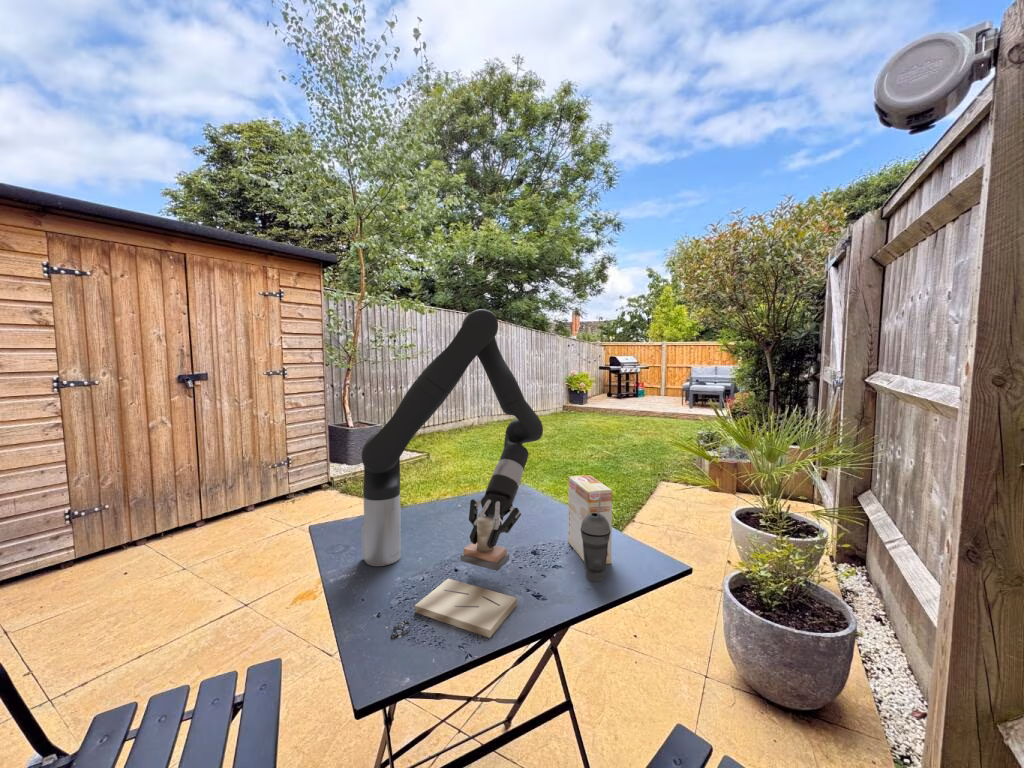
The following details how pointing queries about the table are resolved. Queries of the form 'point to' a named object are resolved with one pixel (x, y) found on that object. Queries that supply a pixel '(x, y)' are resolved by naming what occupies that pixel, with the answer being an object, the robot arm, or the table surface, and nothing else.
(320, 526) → the table surface
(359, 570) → the table surface
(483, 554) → the block
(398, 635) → the gravel pile
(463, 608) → the board
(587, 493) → the coffeecake box
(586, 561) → the beverage cup
